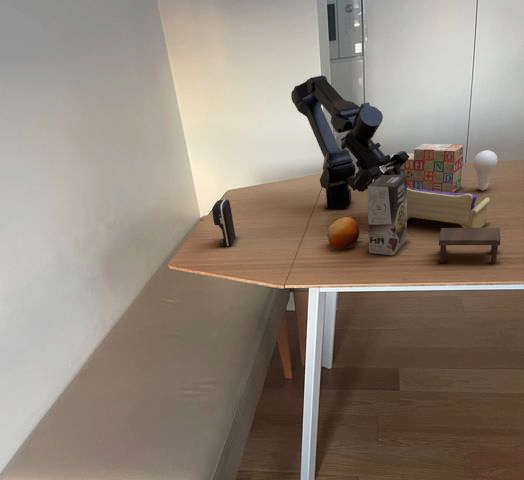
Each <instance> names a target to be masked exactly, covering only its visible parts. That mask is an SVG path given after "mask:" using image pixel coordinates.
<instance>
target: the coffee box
mask: <svg viewBox="0 0 524 480" xmlns="http://www.w3.org/2000/svg"><path fill="white" fill-rule="evenodd" d="M367 216H368V218H367V219H368V220H367V221H368V253H369V254H375V255H376V254H378V255H385V256H394V255H395V254H396V253H397V252H398V251H399V250H400V249H401V248H402V247H403V245H405V243H406V242H407V232H408V231H407V227H408V226H407V225H408V223H407V221H408V220H407V175H381V176H380V177H379V178H377V179H376V180H375V181H374V180H373V181H372V183H371V184H370V185H368V189H367Z"/></svg>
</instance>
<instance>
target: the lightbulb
mask: <svg viewBox="0 0 524 480" xmlns="http://www.w3.org/2000/svg"><path fill="white" fill-rule="evenodd" d="M498 161H499V160H498V156H497V154H496V153H495V152H494V151H492V150H487V149H485V150H482V151H480V152H478V153H477V154H476V156H475V157H474V160H473V168H474V170H475V172H476V175H477V182H478V186H477V187H478V188H477V189H479V190H480V191H485V190H487V189H488V188H489V183H490V180H491V177H492V173H493V171H494V170H495V168H496V167H497V165H498Z"/></svg>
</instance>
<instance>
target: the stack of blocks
mask: <svg viewBox="0 0 524 480" xmlns="http://www.w3.org/2000/svg"><path fill="white" fill-rule="evenodd" d="M464 148H465V145H464V144H463V145H462V144H453V143H443V144H442V143H422V144H420V145H419V146H417V147H416V148H414V150H413V153H407V152H406V153H407V154H408V155H409V156H410V157H409V158H408V160H407V161H406V162H405V163H404V164H403V165H402V166H401V167H400V172H401V175H407V187H409V188H414V189H420V190H426V191H434V192H449V193H456V192H457V191H458V190H460V189H461V188H462V187H461V185H462V173H463V161H464V151H465V149H464ZM396 153H397V152H395V153H394V154H396ZM394 154H391V155H390V157H391V158H392V157H393V155H394ZM391 158H390V159H391ZM390 159H389V160H390Z"/></svg>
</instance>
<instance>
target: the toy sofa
mask: <svg viewBox="0 0 524 480" xmlns="http://www.w3.org/2000/svg"><path fill="white" fill-rule="evenodd" d="M477 199H478V198H477V195H476V194H474V193H470V192H469V193H467V192H459V193H458V192H457V193H456V192H454V193H449V192H434V191H426V190H420V189H414V188H409V187H407V221H409V220H411V219H412V218H415V219H423V220H428V221H429V220H430V221H435V222H436V221H437V222H445V223H449V224H450V223H451V224H456V225H457V224H458V225H460V226H461V228H484V226H485V225H486V224H487V215H488V214H487V213H488V205H490V203H491V198H490V197H485V198H484V199H482V201H480V202H479V203H478V204H476V201H477ZM475 204H476V205H475Z"/></svg>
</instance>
